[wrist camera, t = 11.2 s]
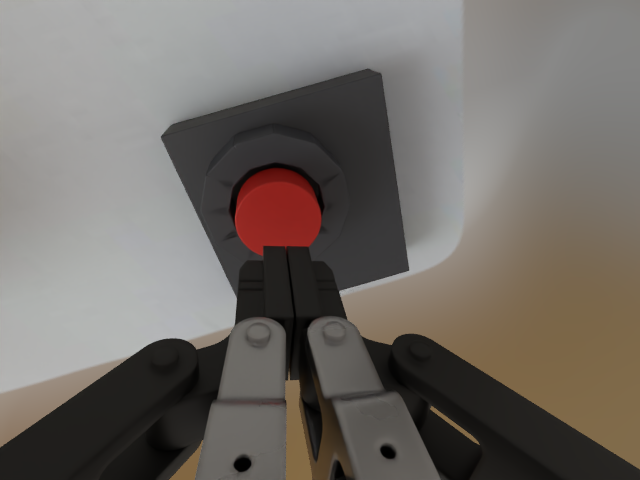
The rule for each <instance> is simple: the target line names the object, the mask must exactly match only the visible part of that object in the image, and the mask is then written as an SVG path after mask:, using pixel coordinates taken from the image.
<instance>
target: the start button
mask: <svg viewBox="0 0 640 480" xmlns="http://www.w3.org/2000/svg"><path fill="white" fill-rule="evenodd" d="M321 221H322V218H321V210H320V207H319V204H318V201H317V198H316V195H315V192H314V190H313V188H312V186H311V185H310V183H309V182H308V181H307V180H306V179H305V178H304V177H303V176H301V175H300V174H298V173H296V172H294V171H292V170H289V169H284V168H270V169H265V170H262V171H260V172H258V173H256V174H254V175H253V176H251V177H250V178H249V179H248V180H247V181H246V182H245V183H244V184H243V186H242V187H241V189H240V192H239V194H238V198H237V205H236V213H235V226H236V230H237V233H238V235H239V237H240V239H241V240H242V242H243V243H244V244H245V245H246V246H247V247H248V248H249V249H250V250H252V251H253V252H255V253H257V254H259V255H262V256H263V246H285V249H286V246H308V247H309V246H310V245H311V244H312V243H313V241H314V240H315V239H316V237H317V235H318V233H319V231H320V227H321Z"/></svg>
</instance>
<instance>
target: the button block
mask: <svg viewBox="0 0 640 480" xmlns="http://www.w3.org/2000/svg"><path fill="white" fill-rule="evenodd" d="M161 139H162V141H163V143H164V145H165V147H166V149H167V152H168V154H169V156H170V158H171V160H172V162H173V164H174V166H175V168H176V171H177V173H178V175H179V177H180V179H181V181H182V183H183V185H184V187H185V190H186V192H187V194H188V196H189V198H190V200H191V202H192V204H193V206H194V209H195V211H196V213H197V215H198V217H199V219H200V221H201V223H202V225H203V227H204V230H205V232H206V234H207V236H208V238H209V240H210V242H211V244H212V246H213V249H214V251H215V253H216V255H217V257H218V259H219V261H220V263H221V265H222V268H223V270H224V272H225V274H226V276H227V278H228V280H229V282H230V284H231V287H232V289H233V291H234V293H235V295H236V297H237V294H238V282H239V269H240V268H241V267H242V266H243V264H244V263H245V262H246V261H247V260H263V256H262V255H259V254H257V253H255V252H253V251H252V250H250V249H249V248H248V247H247V246H246V245H245V244H244V243H243V242H242V240H241V239H240V237H239V235H238V233H237V230H236V226H235V213H236V205H237V198H238V194H239V192H240V189H241V187H242V186H243V184H244V183H245V182H246V181H247V180H248V179H249V178H250V177H251V176H253V175H254V174H256V173H258V172H260V171H262V170H265V169H270V168H284V169H289V170H292V171H294V172H296V173H298V174H300V175H301V176H303V177H304V178H305V179H306V180H307V181H308V182H309V183H310V185H311V186H312V188H313V190H314V192H315V195H316V198H317V201H318V204H319V207H320V210H321V218H322V221H321V227H320V231H319V233H318V235H317V237H316V239H315V240H314V241H313V243H312V244H311V245H310V246H309V251H310V256H311V260H312V261H324V262H325V263H326V264H327V265H328V266H329V267H330V268H331V269H332V271H333V274H334V278H335V282H336V284H337V287H338V291H340V290H344V289H347V288H351V287H354V286H358V285H361V284H364V283H368V282H371V281H375V280H378V279H382V278H385V277H389V276H392V275H396V274H399V273H403V272H406V271H409V266H408V259H407V252H406V244H405V237H404V230H403V223H402V216H401V209H400V202H399V195H398V188H397V181H396V174H395V167H394V160H393V152H392V145H391V138H390V131H389V124H388V117H387V110H386V103H385V96H384V89H383V82H382V75H381V73H378V72H375V71H373V70H370V69H365V70H362V71H358V72H355V73H351V74H348V75H344V76H341V77H337V78H334V79H330V80H327V81H323V82H320V83H316V84H313V85H309V86H306V87H302V88H299V89H295V90H292V91H288V92H285V93H281V94H278V95H274V96H271V97H267V98H264V99H260V100H257V101H253V102H250V103H246V104H243V105H239V106H236V107H232V108H229V109H225V110H222V111H218V112H215V113H211V114H208V115H204V116H201V117H197V118H194V119H190V120H187V121H184V122H180V123H177V124H173V125H171V126H170V127H169V128H168V129H167V130H166V131H165V132H164V134H163V135H162V136H161Z"/></svg>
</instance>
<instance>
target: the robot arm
mask: <svg viewBox="0 0 640 480" xmlns="http://www.w3.org/2000/svg"><path fill="white" fill-rule="evenodd" d="M288 372H290V380H299V382H300V398H299V408H300V413H301V418H302V423H303V428H304V434H305V439H306V444H307V449H308V454H309V460H310V465H311V470H312V480H640V470H639V469H638V468H636V467H635V466H633V465H631V464H630V463H628V462H627V461H625V460H624V459H622V458H620V457H619V456H617V455H616V454H614V453H612V452H611V451H609V450H607V449H606V448H604V447H603V446H601V445H600V444H598V443H596V442H595V441H593V440H592V439H590V438H588V437H587V436H585V435H583V434H582V433H580V432H579V431H577V430H576V429H574V428H572V427H571V426H569V425H567V424H566V423H564V422H563V421H561V420H559V419H558V418H556V417H554V416H553V415H551V414H550V413H548V412H547V411H545V410H543V409H542V408H540V407H539V406H537V405H535V404H534V403H532V402H531V401H529V400H527V399H526V398H524V397H522V396H521V395H519V394H518V393H516V392H515V391H513V390H511V389H510V388H508V387H507V386H505V385H503V384H502V383H500V382H499V381H497V380H495V379H493V378H492V377H490V376H489V375H487V374H486V373H484V372H483V371H481V370H479V369H478V368H476V367H475V366H473V365H471V364H470V363H468V362H466V361H465V360H463V359H461V358H460V357H458V356H457V355H455V354H454V353H452V352H450V351H449V350H447V349H446V348H444V347H442V346H441V345H439V344H438V343H436V342H434V341H433V340H431V339H429V338H427V337H425V336H422V335H418V334H405V335H401V336H399V337H397V338H396V339H395V340H394V342H393V344H392V345H388V344H383V343H379V342H375V341H372V340H368V339H366V338H364V337H362V336H361V335H360V332H359V331H358V329H357V327H356V326H355V325H354V324H352V323H351V322H349V321H348V320H347V317H346V313H345V310H344V307H343V304H342V301H341V297H340V294H339V291H338V287H337V284H336V282H335V278H334V274H333V271H332V269H331V268H330V267H329V266H328V265H327V264H326V263H325V262H324V261H312V260H311V256H310V251H309V247H308V246H286V249H285V246H263V260H247V261H246V262H245V263H244V264H243V266H242V267H241V268H240V269H239V282H238V294H237V307H236V319H235V326H234V328H233V329H232V331H231V333H230V335H229V336H228V337H226V338H225V339H224V340H222V341H221V342H219V343H217V344H215V345H211V346H208V347H205V348H201V349H197V350H196V348H195V347H194V346H193V345H192V344H191V343H189V342H187V341H185V340H182V339H173V338H170V339H163V340H159V341H156V342H153V343H151V344H149V345H148V346H146V347H144V348H143V349H141V350H140V351H139V352H137V353H136V354H134V355H133V356H131V357H130V358H128V359H127V360H126V361H124V362H123V363H121V364H120V365H119V366H117V367H116V368H114V369H113V370H111V371H110V372H108V373H107V374H106V375H104V376H103V377H101V378H100V379H98V380H97V381H95V382H94V383H92V384H91V385H90V386H88V387H87V388H85V389H84V390H82V391H81V392H79V393H78V394H77V395H75V396H74V397H72V398H71V399H69V400H68V401H67V402H66V403H64V404H62V405H61V406H59V407H58V408H56V409H55V410H54V411H52V412H51V413H49V414H48V415H46V416H45V417H43V418H42V419H41V420H39V421H38V422H36V423H35V424H34V425H32V426H31V427H29V428H28V429H26V430H25V431H24V432H22V433H20V434H19V435H18V436H16V437H15V438H13V439H12V440H10V441H9V442H7V443H6V444H5V445H3V446H2V447H1V448H0V480H169V479H170V478H171V477H172V476H173V475H174V474H175V473H176V471H177V470H178V469H179V468H180V467H181V466H182V465H183V464H184V463H185V462H186V461H187V459H189V457H190V456H191V455H192V454H193V453H194V452H195V451H196V450H197V448H198V447H199V445H200V444H201V441H202V440H203V444H202V449H201V454H200V458H199V463H198V467H197V472H196V477H195V480H286V400H285V380H288ZM431 406H433V407H434V408H436V409H437V410H438V411H440V412H441V413H443V414H444V415H445V416H447V417H448V418H449V419H451V420H452V421H453V422H455V423H456V424H457V425H459V426H460V427H462V428H463V429H464V430H466V431H467V432H468V433H470V434H471V435H472V436H473V437H474V438H475V439H476V440H477V441H478V442H479V444H480V445H478V444H476V443H474V442H473V441H471V440H470V439H469V438H467V437H466V436H465V435H463V434H462V433H461V432H459V431H458V430H457V429H455V428H454V427H453V426H451V425H450V424H449V423H447V422H446V421H445V420H443V419H442V418H441V417H439V416H438V415H437V414H435V413H434V412H433V411H431V410H430V408H431Z"/></svg>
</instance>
